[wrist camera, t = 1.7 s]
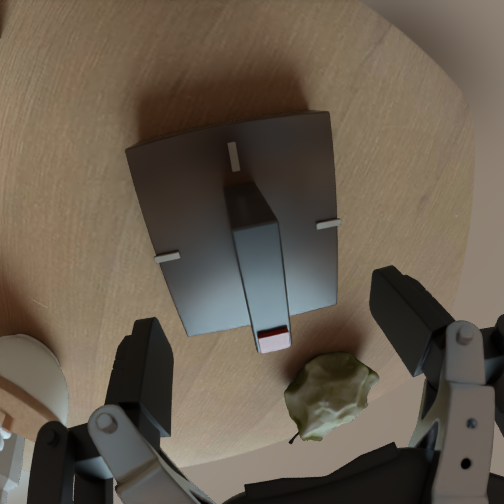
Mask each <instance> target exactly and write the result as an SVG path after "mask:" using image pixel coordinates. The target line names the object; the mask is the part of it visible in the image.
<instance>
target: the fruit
mask: <svg viewBox="0 0 504 504" xmlns="http://www.w3.org/2000/svg"><path fill="white" fill-rule="evenodd" d="M378 381H379V376H378V374H377V373H376V372H375V371H373V370H372V369H371V368H369V367H368V366H366V365H365V364H363V363H362V362H360V361H359V360H357V359H356V358H355V356H354V355H353V354H351V353H343V352H334V353H327V354H323V355H319V356H317V357H316V358H315V359H313V360H312V361H310V362H308V363H306V364H305V366H304V368H303V369H302V370H301V371H300V372H299V373H298V375H297V376H296V378H295V380H294V381H293V382H292V383H291V384H289V386H288V388H287V389H286V390H285V392H284V397H285V402H286V406H287V408H288V411H289V415H290V417H291V418H292V419H293V421H295V423H296V424H297V428H298V430H299V432H298V433H297V434H296V435H295V436H294V437H293V438H292V439H291V440H290V441H289V443H290V444H292V443H293V441H294V439H295V438H296V436H297V435H300V438H301V439H302V440H303V441H305V440H307V441H308V440H310V439H311V440H314V441H321V440H322V438H323V437H324V436H325V435H326V434H327V433H328V432H329V431H331V430H333V429H335V428H336V427H337V426H338V425H340V424H342V423H348V422H352V421H353V419H354V418H355V417H357V416H358V415H359V414H360V412H361V411H362V410H363V409H365V408H366V407H367V406H368V404H367V395H368V393H369V391H370V389H371V387H373V386H374V385H375V384H376V383H377V382H378Z"/></svg>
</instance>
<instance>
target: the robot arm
mask: <svg viewBox="0 0 504 504" xmlns="http://www.w3.org/2000/svg"><path fill="white" fill-rule="evenodd" d="M369 306H370V311H371V314H372V316H373V318H374V319H375V321H376V322H377V324H378V325H379V326H380V328H381V329H382V331H383V332H384V334H385V335H386V337H387V338H388V340H389V341H390V343H391V344H392V346H393V347H394V349H395V350H396V352H397V353H398V355H399V356H400V358H401V359H402V361H403V363H404V364H405V366H406V367H407V369H408V370H409V372H410V373H411V375H412V377H415V376H417V375H420V374H422V373H424V374H425V376H426V379H425V382H424V387H423V394H422V400H421V405H420V411H419V417H418V421H417V425H416V428H415V431H414V433H413V435H412V437H411V440H410V443H409V446H408V447H405V448H397V447H396V445H395V442H392V443H390V444H387V445H385V446H383V447H381V448H378V449H376V450H373V451H371V452H368V453H365V454H363V455H360V456H359V457H357V458H356V459H354V460H353V461H351V462H349V463H348V464H346V465H344V466H343V467H341V468H339V469H338V470H336V471H334V472H333V473H331V474H329V475H327V476H323V477H305V478H280V479H275V480H269V481H264V482H258V483H251V484H245V485H244V487H245V492H242V493H239V494H237V495H235V496H233V497H231V498H230V499H228V500H227V501H225V502H224V503H222V504H504V477H503V476H500V475H497V474H493V473H490V472H489V471H490V465H491V458H492V449H493V438H494V420H495V422H496V423H497V425H498V427H499V429H500V431H501V433H502V435H503V437H504V314H503V315H501V316H500V317H499V318H498V320H497V323H496V324H495V327H490V328H484V329H478V328H477V327H476V326H475V325H474V324H472V323H470V322H467V321H461V320H460V321H455V320H454V319H453V317H452V316H451V315H450V314H449V313H448V312H447V311H446V310H445V309H444V308H443V307H442V305H441V304H440V303H439V302H438V301H437V300H436V299H435V298H434V297H432V295H431V294H430V293H429V292H428V291H426V290H425V288H424V287H423V286H422V285H421V284H420V283H419V282H418V281H417V280H415V279H413V278H412V277H410V276H408V275H402V274H401V272H400V271H399V270H398V269H397V268H396V267H394V266H393V265H390V266H387V267H383V268H379V269H376V270H374V271H373V273H372V281H371V291H370V300H369ZM173 365H174V358H173V352H172V348H171V346H170V344H169V342H168V340H167V338H166V336H165V333H164V331H163V329H162V327H161V325H160V323H159V321H158V319H157V318H156V317H152V318H146V319H140V320H136V321H135V323H134V326H133V330H132V334H131V335H128V336H125V337H124V339H123V340H122V342H121V343H120V344H119V346H118V348H117V352H116V356H115V360H114V364H113V370H112V372H111V376H110V381H109V385H108V390H107V394H106V399H105V404H104V406H101V407H99V408H98V409H96V410H95V411H94V412H93V413H92V415H91V416H90V418H89V420H88V423H85V424H81V425H78V426H75V427H71V428H67V427H66V426H64V425H63V424H62V423H61V422H59V421H49V422H47V423H45V424H44V425H43V426H42V427H41V428H40V430H39V431H38V434H37V437H36V442H35V447H34V452H33V458H32V464H31V471H30V478H29V487H28V496H27V504H113V477H114V478H115V480H116V482H117V485H116V486H115V491H116V493H117V495H118V496H119V498H120V499H121V501H122V502H123V503H124V504H216V503H215V502H213V500H211V499H210V498H209V497H208V496H207V495H206V494H205V493H204V492H202V491H201V490H200V489H199V488H198V487H196V485H194V484H193V483H192V482H191V481H190V480H189V479H188V478H187V477H186V475H185V474H184V473H183V472H182V471H181V470H180V469H179V468H178V467H177V466H176V465H175V464H174V462H173V461H172V460H171V459H170V458H169V457H168V456H167V454H166V453H165V452H164V451H163V450H162V449H161V448H160V437H171V406H172V383H173ZM74 475H75V482H74V501H73V481H74Z"/></svg>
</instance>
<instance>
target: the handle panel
mask: <svg viewBox="0 0 504 504" xmlns="http://www.w3.org/2000/svg"><path fill="white" fill-rule="evenodd" d="M125 153H126V157H127V161H128V165H129V168H130V172H131V176H132V179H133V183H134V187H135V190H136V194H137V197H138V200H139V204H140V207H141V210H142V214H143V217H144V220H145V223H146V226H147V229H148V232H149V235H150V238H151V241H152V244H153V247H154V250H155V253H156V256H154V260H155V262H156V263H159V264H160V267H161V270H162V273H163V275H164V278H165V281H166V283H167V286H168V289H169V291H170V294H171V297H172V299H173V302H174V304H175V307H176V309H177V312H178V314H179V317H180V319H181V321H182V324H183V326H184V329H185V331H186V333H187V336H188V337H190V336H196V335H202V334H207V333H213V332H218V331H223V330H228V329H233V328H238V327H243V326H248V325H251V323H250V319H249V314H248V310H247V305H246V300H245V296H244V291H243V287H242V282H241V277H240V273H239V268H238V263H237V259H236V254H235V249H234V245H233V240H232V235H231V230H230V225H229V220H228V215H227V209H226V204H225V199H224V194H223V189H224V188H228V187H233V186H238V185H243V184H248V183H253V182H254V183H256V185H257V187H258V188H259V190H260V191H261V193H262V195H263V196H264V198H265V199H266V201H267V203H268V204H269V206H270V208H271V209H272V211H273V212H274V214H275V216H276V217H277V219H278V221H279V225H280V233H281V242H282V250H283V259H284V267H285V276H286V286H287V295H288V305H289V314H290V316H292V315H297V314H301V313H305V312H309V311H313V310H317V309H320V308H324V307H328V306H332V305H336V304H337V280H338V237H337V226H338V225H341V223H340V218H338V219H337V203H336V183H335V167H334V154H333V142H332V131H331V122H330V113H329V112H328V111H316V110H305V111H294V112H285V113H277V114H269V115H262V116H255V117H248V118H242V119H236V120H231V121H225V122H220V123H215V124H210V125H205V126H200V127H196V128H191V129H187V130H183V131H178V132H174V133H170V134H167V135H163V136H159V137H155V138H152V139H148V140H145V141H141V142H138V143H136V144H134V145H133V146H131V147H129V148H127V149H125Z"/></svg>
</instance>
